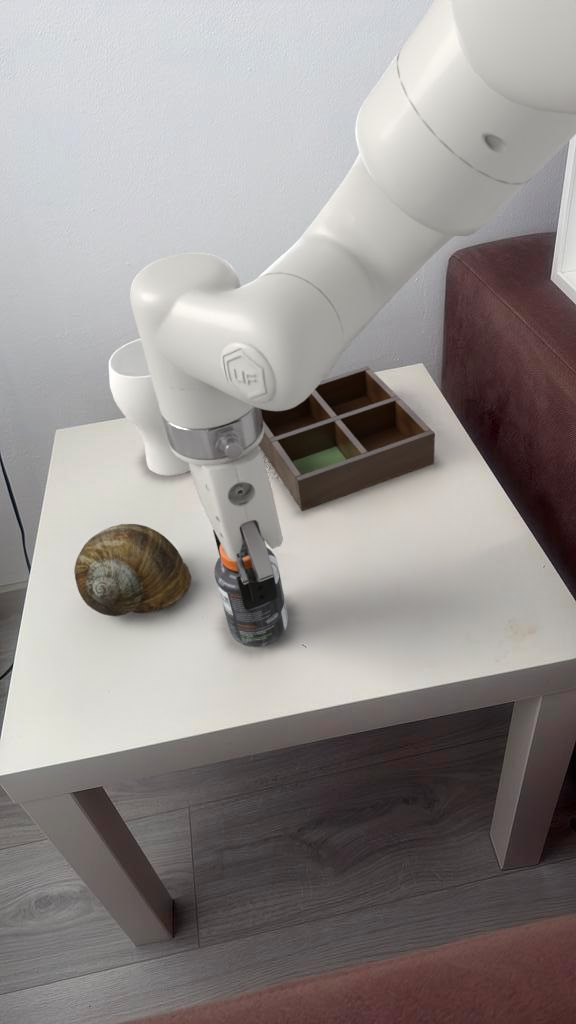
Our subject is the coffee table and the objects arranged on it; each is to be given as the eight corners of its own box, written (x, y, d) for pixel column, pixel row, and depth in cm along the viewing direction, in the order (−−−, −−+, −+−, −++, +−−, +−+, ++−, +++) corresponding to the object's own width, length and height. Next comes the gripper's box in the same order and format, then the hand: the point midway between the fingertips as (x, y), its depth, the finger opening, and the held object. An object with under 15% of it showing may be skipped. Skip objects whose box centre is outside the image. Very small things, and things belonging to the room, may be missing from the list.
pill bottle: (298, 610, 74) (285, 529, 67) (273, 655, 70) (256, 575, 63) (245, 595, 76) (227, 516, 69) (218, 639, 73) (196, 560, 65)
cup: (179, 423, 101) (153, 324, 91) (233, 449, 95) (212, 347, 85) (119, 464, 96) (85, 364, 86) (173, 494, 90) (143, 390, 80)
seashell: (80, 633, 75) (55, 581, 70) (93, 567, 82) (70, 515, 77) (190, 620, 75) (172, 566, 69) (193, 555, 82) (177, 501, 76)
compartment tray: (434, 463, 89) (435, 433, 86) (301, 511, 85) (297, 481, 82) (369, 394, 101) (367, 365, 98) (251, 433, 97) (245, 405, 94)
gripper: (301, 466, 51) (322, 628, 63) (224, 357, 64) (254, 510, 76) (199, 501, 50) (241, 661, 62) (141, 382, 62) (185, 535, 74)
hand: (248, 577), depth 69 cm, fingers closed on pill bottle, 5 cm apart
